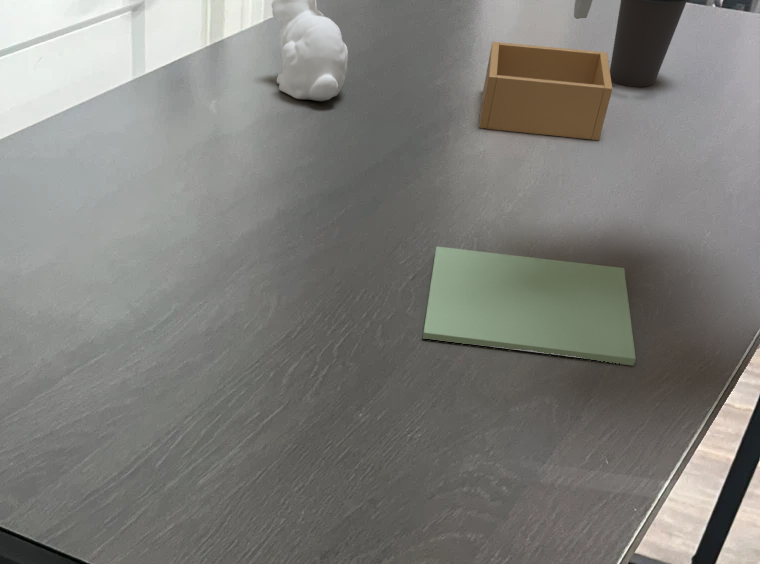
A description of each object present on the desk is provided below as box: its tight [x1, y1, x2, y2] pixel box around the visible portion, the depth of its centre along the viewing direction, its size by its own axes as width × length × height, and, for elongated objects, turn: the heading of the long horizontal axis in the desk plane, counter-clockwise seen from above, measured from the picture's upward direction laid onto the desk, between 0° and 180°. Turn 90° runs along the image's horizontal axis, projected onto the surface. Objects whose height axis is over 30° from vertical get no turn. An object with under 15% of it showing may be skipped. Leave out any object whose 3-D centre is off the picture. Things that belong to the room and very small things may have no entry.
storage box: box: [479, 41, 613, 141], centre depth 119 cm, size 13×13×5 cm
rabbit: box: [271, 0, 349, 102], centre depth 120 cm, size 12×9×12 cm
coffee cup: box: [609, 0, 690, 88], centre depth 127 cm, size 8×8×10 cm
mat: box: [422, 246, 636, 367], centre depth 89 cm, size 16×16×1 cm
